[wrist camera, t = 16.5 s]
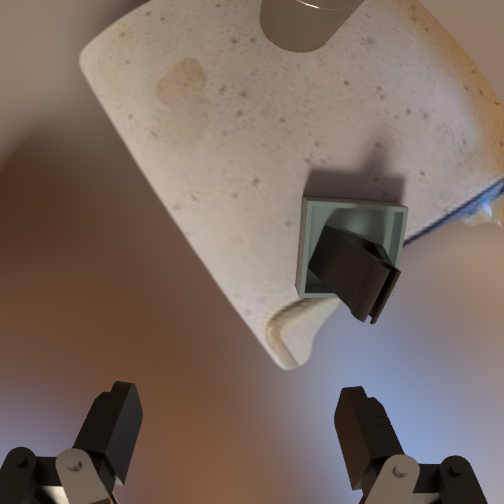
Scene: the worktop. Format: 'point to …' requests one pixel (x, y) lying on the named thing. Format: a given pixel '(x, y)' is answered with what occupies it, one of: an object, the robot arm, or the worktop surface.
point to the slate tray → (350, 221)
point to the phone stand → (355, 271)
